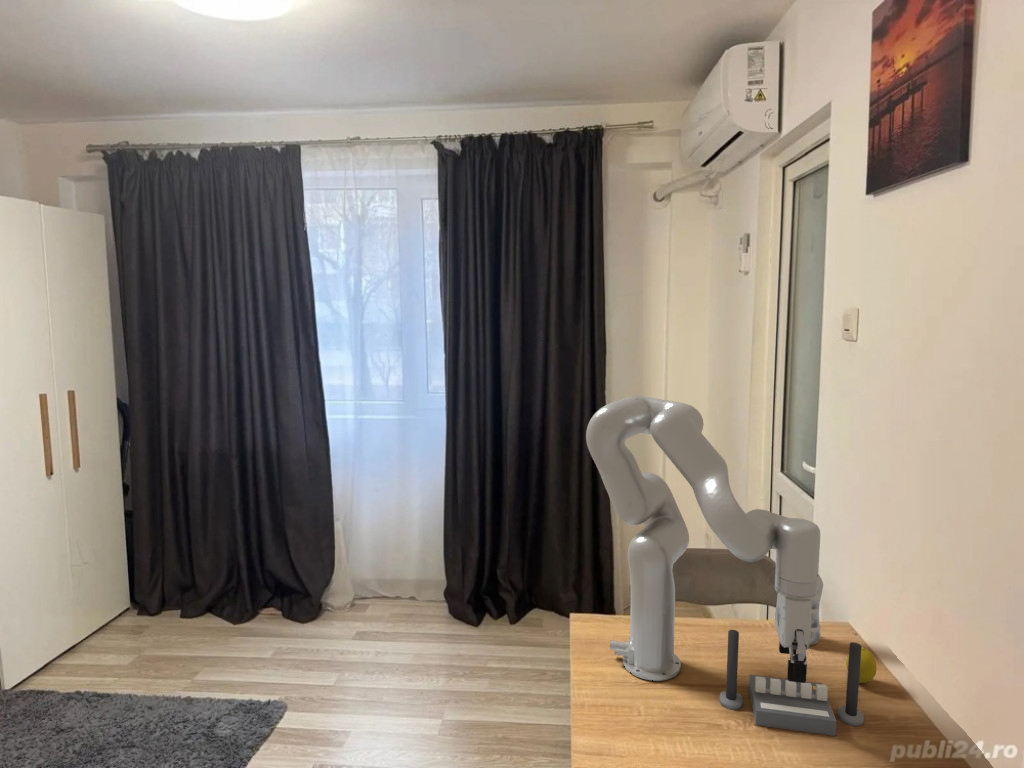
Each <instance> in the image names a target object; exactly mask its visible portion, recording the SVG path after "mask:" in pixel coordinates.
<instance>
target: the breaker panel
mask: <svg viewBox="0 0 1024 768" xmlns="http://www.w3.org/2000/svg"><path fill="white" fill-rule="evenodd" d="M755 676H756V677H765V679H766V689H770V678H773V679H780V681H781V691H785V681H786V680H788V679H787V678H781V677H775V676H774V677H773V676H766V675H765V676H763V675H756V674H748V691H749V697H750V698H749V699H750V702H751V707H752V713H753V719H754V723H755V726H760V727H767V728H774V729H775V728H776V729H782V730H788V731H789V730H790V731H797V732H801V733H802V732H804V733H811V734H816V735H817V734H818V735H826V736H833V737H836V734H837V718H836V716H835V713H834V711H833V708H832V706H831V703H830V701H829V698H828V697H827V701H822V700H817V699H813V698H811V699H806V698H801V697H797V696H796V697H791V696H786V695H775V694H771V693H766V692H765V693H760V692H756V691H755ZM805 683H811V685H812V695H816V684H822V685H823V683H821V682H816V681H815V682H812V681H807V680H806V682H805ZM800 688H801V683H800V682H796V693H800Z"/></svg>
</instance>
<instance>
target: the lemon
mask: <svg viewBox="0 0 1024 768" xmlns="http://www.w3.org/2000/svg"><path fill="white" fill-rule="evenodd" d="M848 661H849V653H848V655H847V658H846V670H847V671H848ZM876 673H877V661H876V658H875V656H874V654H873V653H872V652H871V651H870V650H868V649H866V648H865V647H864V646H862V647H861V662H860V676H859V684H863V683H869V682H871V681H872V680H873V679H874V678H875V676H876Z"/></svg>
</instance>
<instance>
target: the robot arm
mask: <svg viewBox="0 0 1024 768" xmlns="http://www.w3.org/2000/svg"><path fill="white" fill-rule="evenodd" d="M704 425H705V424H704V419H703V416H702V414H701V412H700V411H699V410H698V409H697V408H696V407H695V406H692V405H691V404H688V403H684V402H679V401H673V400H672V401H671V400H666V399H662V398H661V399H660V398H656V397H648V396H644V395H643V396H639V395H632V396H628V397H625V398H622V399H621V398H620V399H618V400H615V401H612V402H609V403H608V404H606V405H604V406H602V407H600V408H599V409H598V410H597V411H596V412H595V413H594V414H593V415H592V417H591V418H590V420H589V422H588V424H587V428H586V431H585V440H586V445H587V449H588V452H589V453H590V456H591V458H592V460H593V461H594V462H593V463H594V464H595V465H596V468H597V470H598V473H599V475H600V477H601V480H602V482H603V485H604V488H605V490H606V492H607V494H608V497H609V499H610V502H611V504H612V506H613V509H614V512H615V513H616V515H617V517H618V518H619V520H621V522H622V523H624V524H626V525H628V526H639V525H641V524H644V527H643V528H642V529H641V530H639V531H638V532H637V533H636V534H635V535H634V536H633V537H632V539H631V540H630V542H629V545H628V549H627V562H628V568H629V576H630V579H629V580H630V612H629V613H630V617H629V618H630V619H629V620H630V622H629V623H630V624H629V627H630V628H629V630H630V631H629V632H630V633H629V634H630V635H629V637H628V641H627V640H624V642H622V641H618V640H610V642H609V650H610V651H611V650H613V651H614V654H613V655H614V656H622V665H623V664H624V665H623V667H624V666H625V667H624V668H625V670H626V671H627V672H629V673H630V672H631V673H632V674H631V673H630V674H631V675H633V676H634V677H636V678H639V679H643V680H645V681H652V680H653V681H654V682H660V681H662V682H663V681H666V680H670V679H672V678H674V677H676V676H678V674H680V673H681V668H682V665H681V663H682V662H681V660H680V658H679V657H678V655H677V654H676V653H675V619H676V618H675V617H676V613H675V612H676V588H675V587H676V586H675V579H674V574H673V566H674V563H676V562H677V561H678V559H680V557H682V555H683V554H684V553H685V552H686V550H688V547H689V544H690V533H689V530H688V527H687V524H686V521H685V519H684V518H683V515H682V513H681V510H680V508H679V506H678V504H677V502H676V500H675V497H674V495H673V493H672V491H671V488H670V487H669V485H668V483H667V482H666V481H665V480H664V479H663V478H662V477H660V475H658V474H655V473H653V472H649V471H648V472H641V469H640V466H639V465H638V461H637V459H636V457H635V456H634V454H633V452H631V450H630V449H629V448H628V446H627V445H626V441H627V439H630V438H632V437H634V436H637V435H638V434H647V435H651V437H652V439H653V440H654V442H655V443H656V444H657V446H658V447H659V448H660V449H661V451H662V452H663V453H664V455H666V457H667V458H668V459H669V461H670V462H671V463H672V464H673V465H674V466H675V468H676V469H677V470H678V472H679V473H680V474H681V475H682V477H683V478H684V479H685V480H686V481H687V483H688V484H689V485H690V486H691V489H692V490H693V491H692V492H693V493H694V497H695V499H696V502H697V504H698V507H699V509H700V511H701V513H702V516H703V517H704V520H705V521H706V522H707V524H708V526H709V527H710V529H711V530H712V532H714V534H715V536H716V537H717V538H718V539H719V540H720V542H721V543H722V544H723V546H725V548H727V550H729V552H730V553H731V554H733V555H734V556H735V557H736V558H738V559H740V560H741V561H744V562H749V563H750V562H751V563H752V562H753V563H754V562H758V561H760V560H762V559H763V558H765V557H766V555H767V554H768V553H769V552H770V550H772V549H773V550H775V571H774V572H775V573H774V590H775V592H776V593H777V596H776V597H777V598H776V606H775V607H776V608H775V609H776V610H775V618H774V619H775V620H774V626H775V631H776V634H777V636H778V641H779V643H778V644H779V645H778V651H779V654H785V655H786V654H787V655H789V659H788V660H787V674H786V675H787V676H786V677H787V678H786V679H788V681H791V682H800V683H805V682H806V681H807V674H808V673H807V670H808V661H807V651H808V650H809V649H810V646H811V645H810V635H811V611H812V610H811V599H814V598H815V597H817V589H818V574H819V570H820V569H819V568H820V567H819V566H820V550H821V549H820V548H821V530H820V527H819V526H818V524H816V523H815V522H813V521H811V520H808V519H803V518H799V517H797V518H796V517H787V516H784V515H780V514H778V513H776V512H772V511H769V510H766V509H760V508H755V509H752V510H749V511H748V512H745V511H744V509H743V508H742V507H741V506H740V504H739V503H738V501H737V500H736V498H735V496H734V494H733V491H732V489H731V485H730V479H729V470H728V469H729V468H728V465H727V461H726V460H725V459H724V458H723V456H721V454H720V453H719V451H718V450H716V449H715V447H714V446H713V445H712V443H711V442H710V441H709V440H708V439H707V438H706V436H705V435H704V434H703V432H702V431H703V430H704Z"/></svg>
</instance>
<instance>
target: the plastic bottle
mask: <svg viewBox="0 0 1024 768" xmlns="http://www.w3.org/2000/svg"><path fill="white" fill-rule="evenodd" d="M823 589H824V582H823V580H822V577H821V575H820V574H819V573H818V589H817V597H815V598H814V599H811V610H812V611H811V635H810V646H813V645H816V644H817V643H818V642H819V641H820V639H821V625H820V604H821V599H822V593H823Z"/></svg>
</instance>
